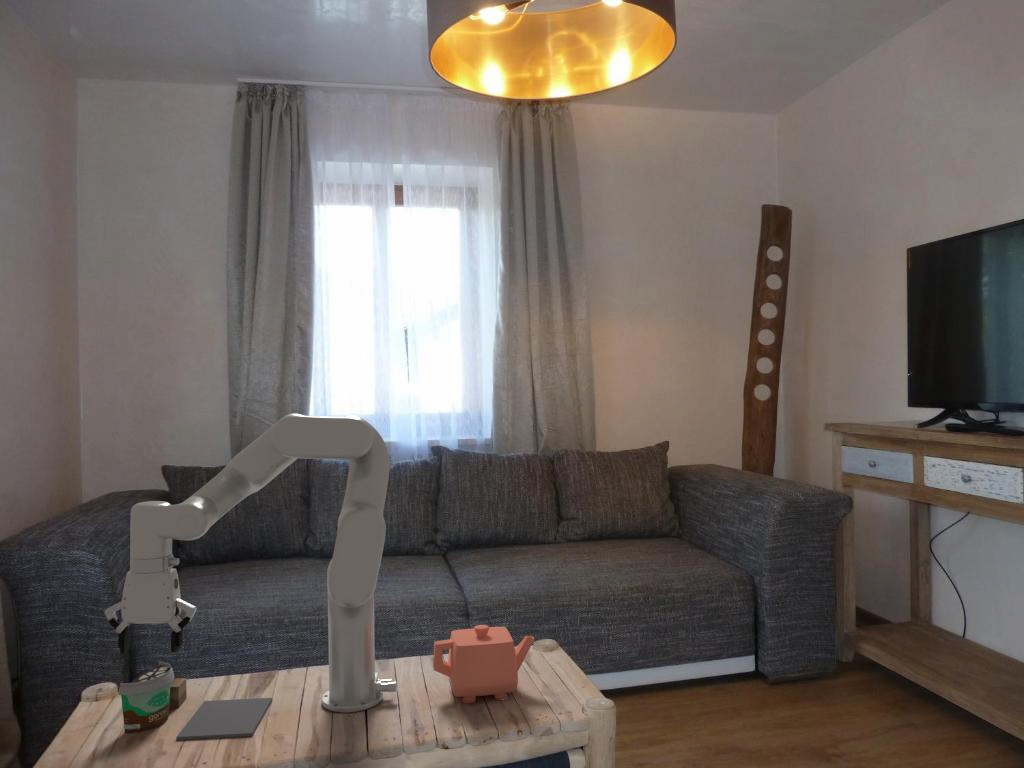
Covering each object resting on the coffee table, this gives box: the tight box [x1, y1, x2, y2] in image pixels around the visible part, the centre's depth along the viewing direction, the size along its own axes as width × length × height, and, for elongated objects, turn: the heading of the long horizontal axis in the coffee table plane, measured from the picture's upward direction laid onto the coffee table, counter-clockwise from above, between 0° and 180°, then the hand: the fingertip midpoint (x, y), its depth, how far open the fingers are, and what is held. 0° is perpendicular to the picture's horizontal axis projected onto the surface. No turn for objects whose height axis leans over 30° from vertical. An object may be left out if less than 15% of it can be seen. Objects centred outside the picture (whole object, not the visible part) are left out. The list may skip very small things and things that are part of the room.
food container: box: [118, 661, 175, 734], centre depth 148 cm, size 12×6×10 cm, turn 168°
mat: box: [176, 697, 273, 741], centre depth 149 cm, size 14×16×1 cm
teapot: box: [432, 624, 535, 704], centre depth 161 cm, size 22×13×14 cm, turn 101°
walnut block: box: [169, 677, 188, 709], centre depth 157 cm, size 4×4×4 cm
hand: (150, 650), depth 148 cm, fingers open, 9 cm apart
